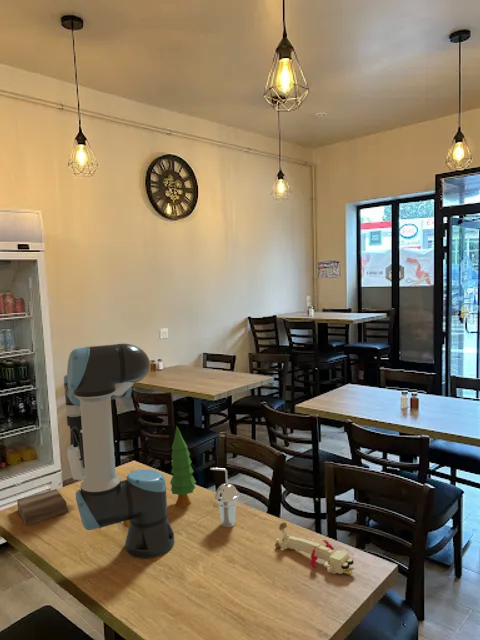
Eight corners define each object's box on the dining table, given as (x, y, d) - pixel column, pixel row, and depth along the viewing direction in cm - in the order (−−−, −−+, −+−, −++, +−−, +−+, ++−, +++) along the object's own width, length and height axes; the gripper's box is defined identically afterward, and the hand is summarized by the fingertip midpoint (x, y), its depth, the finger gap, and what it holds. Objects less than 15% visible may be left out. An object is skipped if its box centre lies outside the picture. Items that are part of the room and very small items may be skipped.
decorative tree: (166, 506, 174) (161, 427, 171) (179, 495, 183) (175, 419, 180) (189, 510, 170) (185, 429, 168) (201, 498, 179) (197, 421, 176)
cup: (86, 482, 176) (84, 450, 175) (64, 481, 178) (62, 450, 177) (98, 472, 185) (96, 442, 184) (77, 471, 187) (75, 442, 186)
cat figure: (271, 555, 143) (343, 583, 126) (268, 527, 143) (340, 551, 126) (291, 541, 150) (362, 565, 133) (288, 514, 150) (359, 535, 133)
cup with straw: (235, 532, 155) (232, 473, 153) (210, 527, 158) (207, 469, 156) (244, 519, 162) (242, 463, 161) (220, 515, 166) (217, 460, 164)
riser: (67, 512, 173) (66, 502, 172) (25, 525, 164) (24, 514, 164) (57, 498, 184) (56, 488, 184) (18, 510, 176) (17, 499, 176)
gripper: (96, 417, 173) (100, 477, 175) (78, 407, 191) (82, 461, 192) (75, 422, 169) (80, 483, 170) (59, 410, 186) (63, 466, 188)
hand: (81, 471), depth 181 cm, fingers closed on cup, 9 cm apart
